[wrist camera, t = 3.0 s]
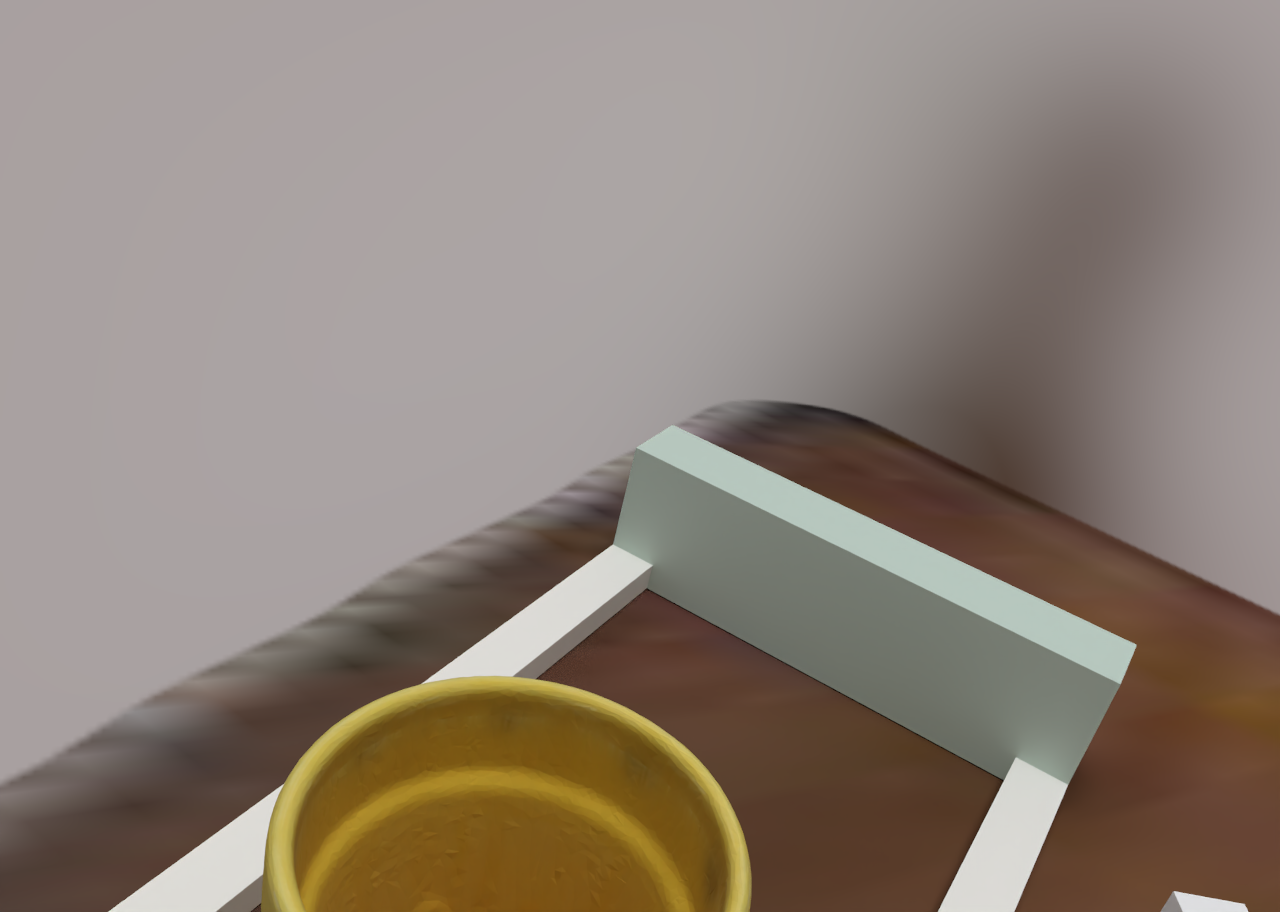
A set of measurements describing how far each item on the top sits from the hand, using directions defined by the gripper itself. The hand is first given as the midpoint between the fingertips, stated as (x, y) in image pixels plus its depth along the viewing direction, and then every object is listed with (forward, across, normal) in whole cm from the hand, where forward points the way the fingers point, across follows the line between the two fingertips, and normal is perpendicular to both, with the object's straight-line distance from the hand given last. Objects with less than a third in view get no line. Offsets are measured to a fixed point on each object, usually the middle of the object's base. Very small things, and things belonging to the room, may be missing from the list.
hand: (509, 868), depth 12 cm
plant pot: (+10, +1, -20) cm, 22 cm away
